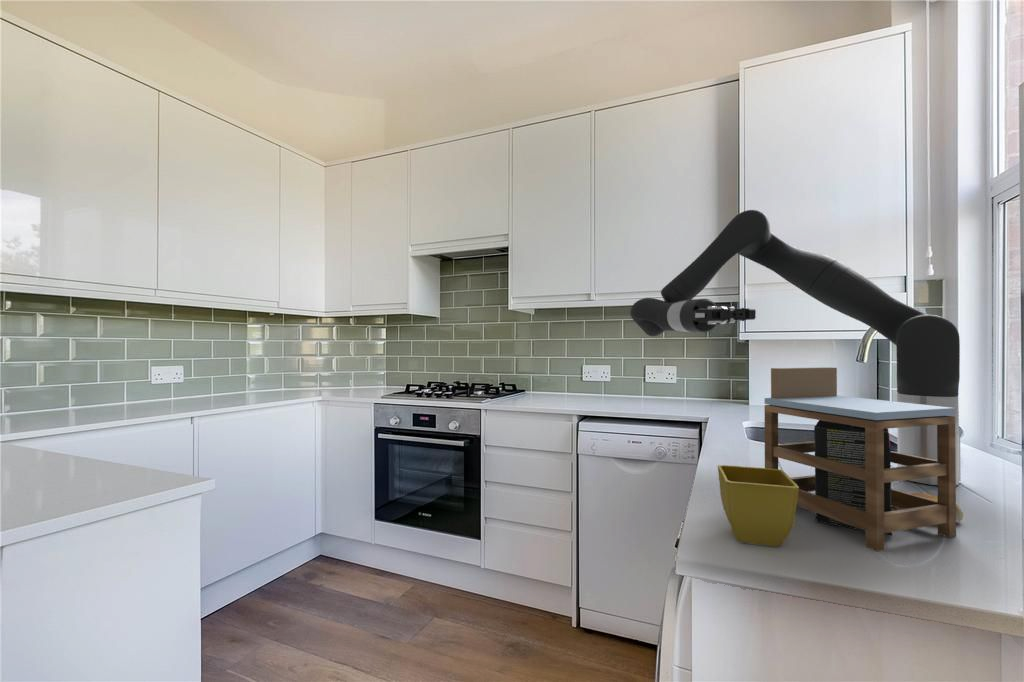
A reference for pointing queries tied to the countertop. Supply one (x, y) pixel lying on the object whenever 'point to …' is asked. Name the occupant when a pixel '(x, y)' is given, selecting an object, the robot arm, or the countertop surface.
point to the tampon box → (849, 449)
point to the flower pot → (758, 503)
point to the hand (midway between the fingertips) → (752, 314)
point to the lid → (837, 397)
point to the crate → (875, 475)
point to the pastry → (958, 511)
